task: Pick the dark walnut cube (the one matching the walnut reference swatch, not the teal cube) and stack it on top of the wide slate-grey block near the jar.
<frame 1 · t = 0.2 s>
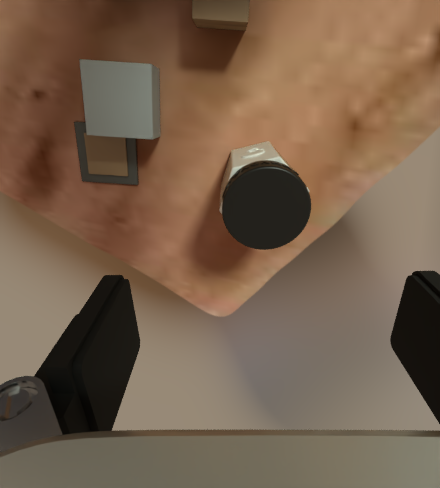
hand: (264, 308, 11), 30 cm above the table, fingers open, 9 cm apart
grey base block: (128, 101, 36), on the table, touching reference swatch
reference swatch: (108, 154, 39), on the table
jar: (256, 176, 40), on the table
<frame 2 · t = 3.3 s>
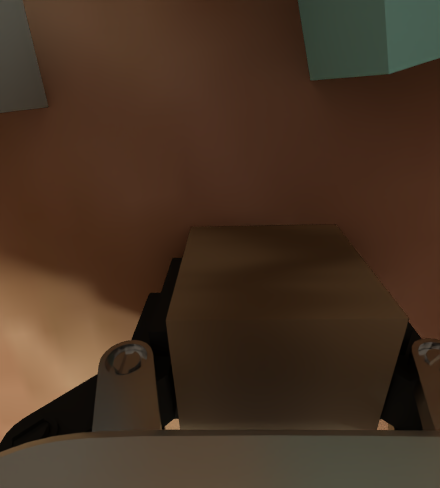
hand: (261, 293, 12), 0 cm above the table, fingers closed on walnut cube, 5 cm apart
walnut cube: (260, 285, 12), on the table, touching gripper
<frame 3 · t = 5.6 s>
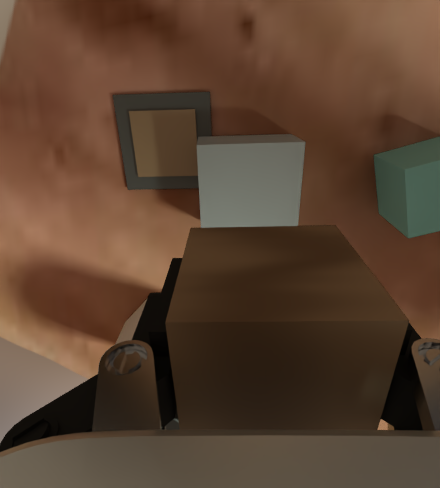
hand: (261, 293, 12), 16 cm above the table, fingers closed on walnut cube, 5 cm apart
teal cube: (408, 176, 25), on the table
walnut cube: (260, 286, 12), point 15 cm above the table, touching gripper
grey base block: (244, 180, 26), on the table, touching reference swatch
reference swatch: (166, 143, 25), on the table
jar: (169, 326, 33), on the table
when the fingers open (6 cm above the table, at t = 7.7 s): walnut cube drops 1 cm, resting on grey base block.
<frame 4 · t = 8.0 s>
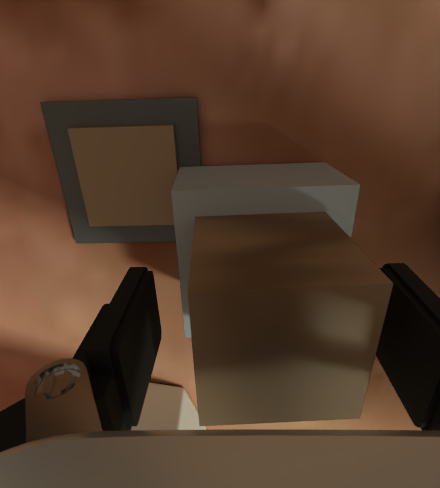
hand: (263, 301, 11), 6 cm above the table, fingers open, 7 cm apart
walnut cube: (258, 270, 13), point 4 cm above the table, touching grey base block
grey base block: (251, 231, 17), on the table, touching reference swatch, walnut cube
reference swatch: (131, 176, 16), on the table
jar: (148, 414, 24), on the table
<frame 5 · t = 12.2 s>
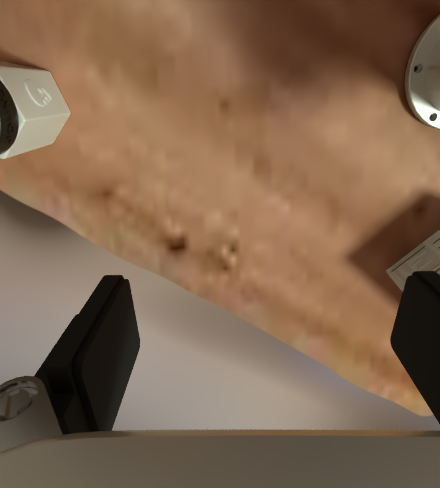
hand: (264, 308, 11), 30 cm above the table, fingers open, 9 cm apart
jar: (33, 105, 37), on the table
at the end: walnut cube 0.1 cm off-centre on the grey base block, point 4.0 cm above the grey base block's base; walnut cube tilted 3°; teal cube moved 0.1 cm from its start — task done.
